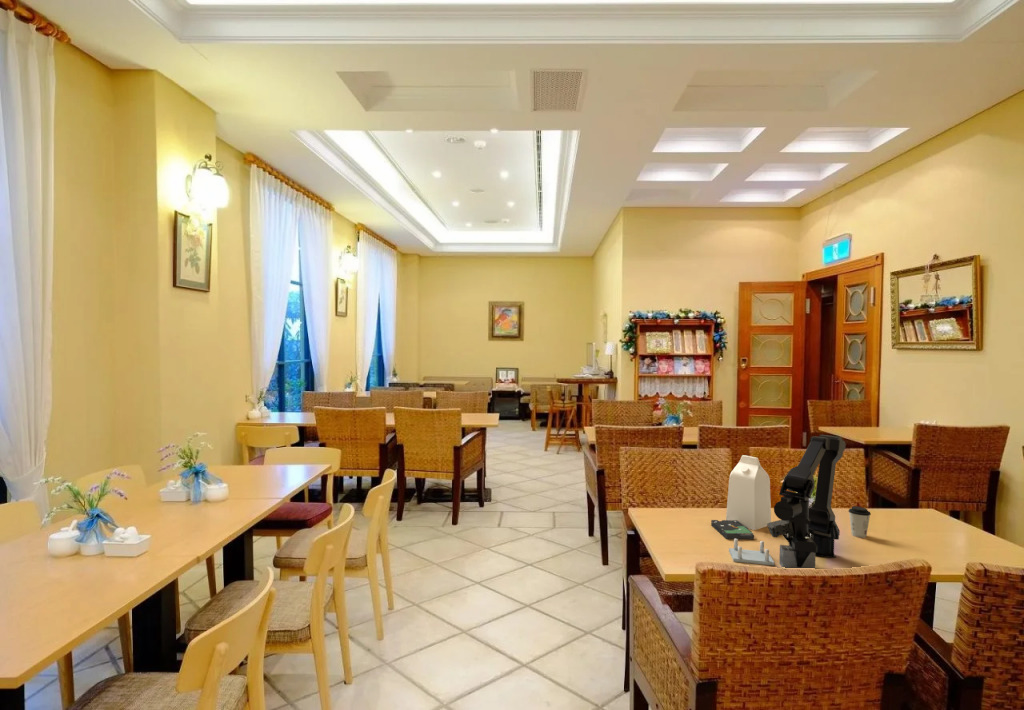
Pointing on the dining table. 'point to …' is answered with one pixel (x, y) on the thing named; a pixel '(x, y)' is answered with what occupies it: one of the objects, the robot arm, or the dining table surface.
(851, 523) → the coffee cup
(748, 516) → the milk
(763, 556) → the tray
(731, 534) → the disk drive
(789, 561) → the block
